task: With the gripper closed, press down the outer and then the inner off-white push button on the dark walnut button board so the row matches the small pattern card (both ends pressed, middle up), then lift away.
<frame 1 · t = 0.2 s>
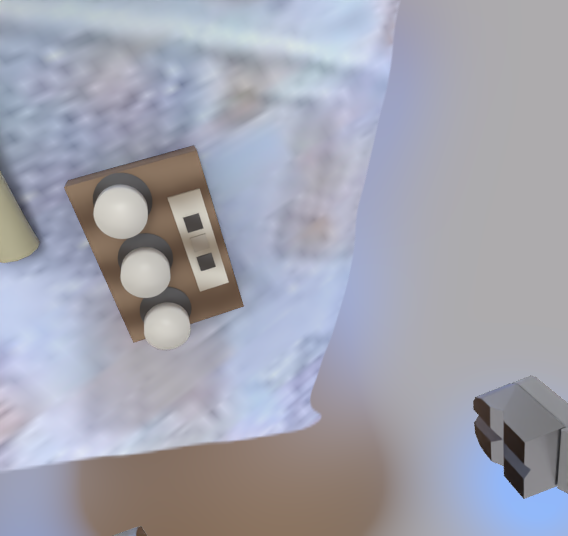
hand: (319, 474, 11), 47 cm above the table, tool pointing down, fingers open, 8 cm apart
inner button: (121, 211, 47), point 7 cm above the table, slide at 0.0 cm
middle button: (145, 272, 51), point 7 cm above the table, slide at 0.0 cm
outer button: (167, 326, 54), point 7 cm above the table, slide at 0.0 cm
button board: (162, 243, 57), on the table
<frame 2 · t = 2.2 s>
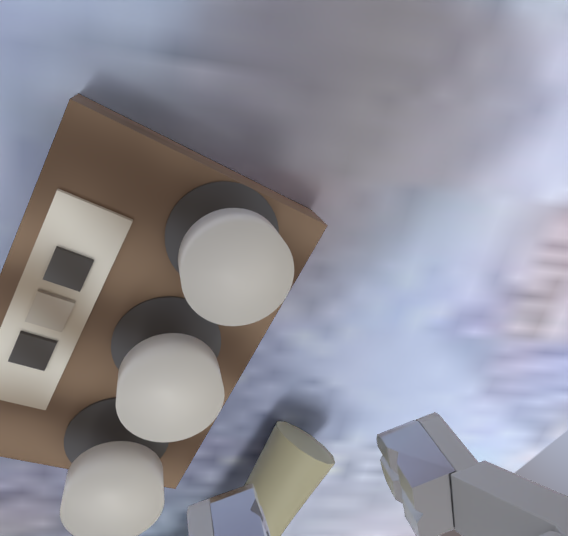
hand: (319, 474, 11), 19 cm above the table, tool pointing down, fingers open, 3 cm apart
inner button: (114, 491, 25), point 7 cm above the table, slide at 0.0 cm
middle button: (170, 387, 23), point 7 cm above the table, slide at 0.0 cm
outer button: (235, 267, 22), point 7 cm above the table, slide at 0.0 cm
button board: (134, 307, 29), on the table
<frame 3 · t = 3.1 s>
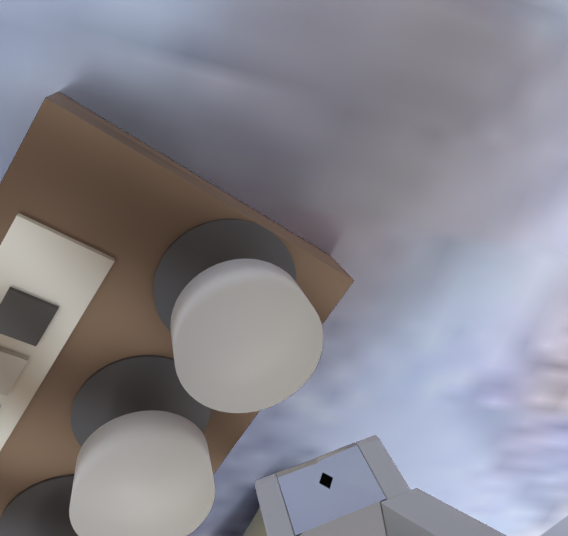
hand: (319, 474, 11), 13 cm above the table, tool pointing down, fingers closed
middle button: (144, 481, 18), point 7 cm above the table, slide at 0.0 cm
outer button: (245, 335, 17), point 7 cm above the table, slide at 0.0 cm
button board: (105, 358, 23), on the table
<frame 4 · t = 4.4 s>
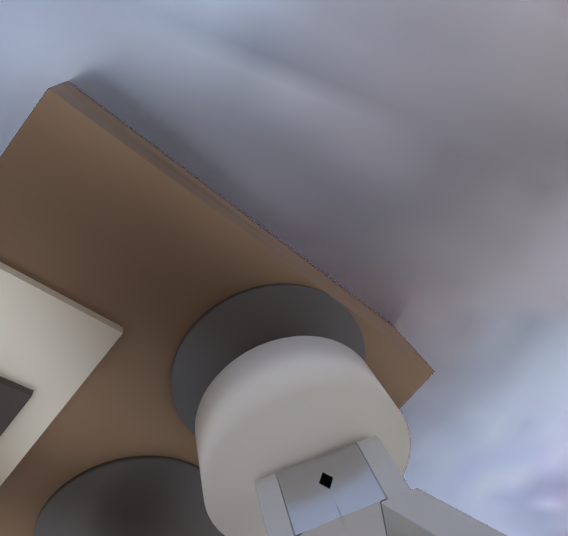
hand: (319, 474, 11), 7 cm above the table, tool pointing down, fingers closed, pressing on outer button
outer button: (299, 443, 12), point 6 cm above the table, slide at 1.0 cm, touching gripper
button board: (89, 439, 17), on the table
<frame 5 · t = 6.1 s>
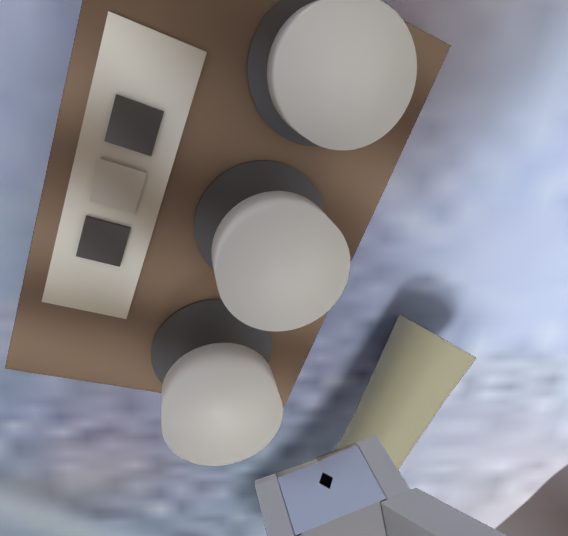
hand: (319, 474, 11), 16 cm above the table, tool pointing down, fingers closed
inner button: (221, 404, 21), point 7 cm above the table, slide at 0.0 cm
middle button: (279, 261, 18), point 7 cm above the table, slide at 0.0 cm
outer button: (340, 75, 17), point 6 cm above the table, slide at 1.5 cm
flower vase: (264, 495, 34), on the table
button board: (212, 194, 24), on the table
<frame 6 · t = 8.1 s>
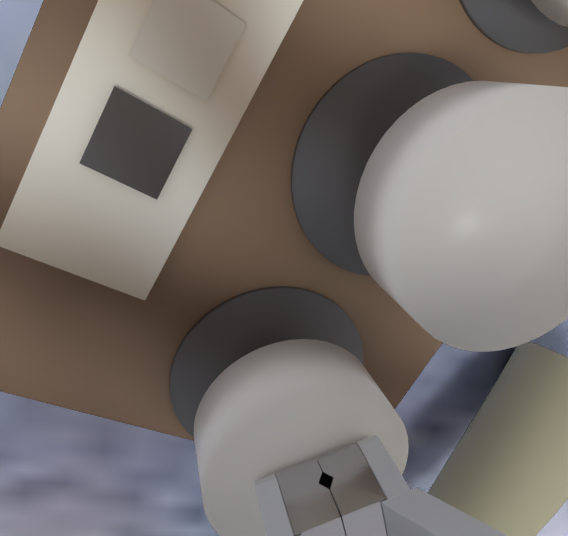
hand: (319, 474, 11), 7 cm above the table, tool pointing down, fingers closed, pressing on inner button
inner button: (298, 446, 12), point 6 cm above the table, slide at 1.0 cm, touching gripper
middle button: (490, 217, 10), point 7 cm above the table, slide at 0.0 cm
button board: (304, 122, 15), on the table
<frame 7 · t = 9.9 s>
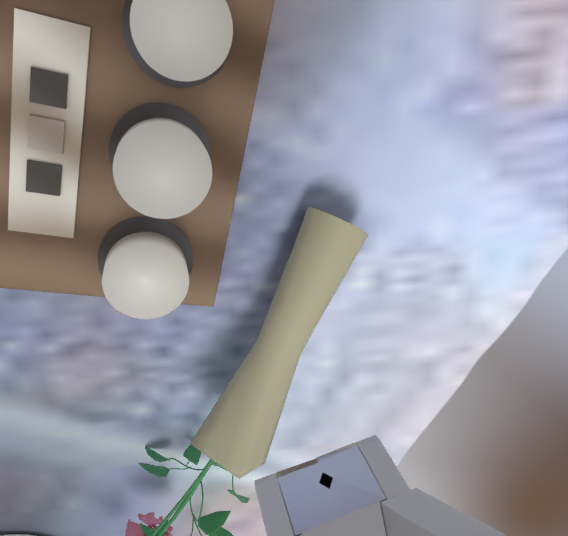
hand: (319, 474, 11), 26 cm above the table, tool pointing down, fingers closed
inner button: (146, 275, 29), point 6 cm above the table, slide at 1.5 cm
middle button: (163, 168, 26), point 7 cm above the table, slide at 0.0 cm
outer button: (181, 28, 25), point 6 cm above the table, slide at 1.5 cm
flower vase: (219, 380, 41), on the table
button board: (128, 140, 31), on the table
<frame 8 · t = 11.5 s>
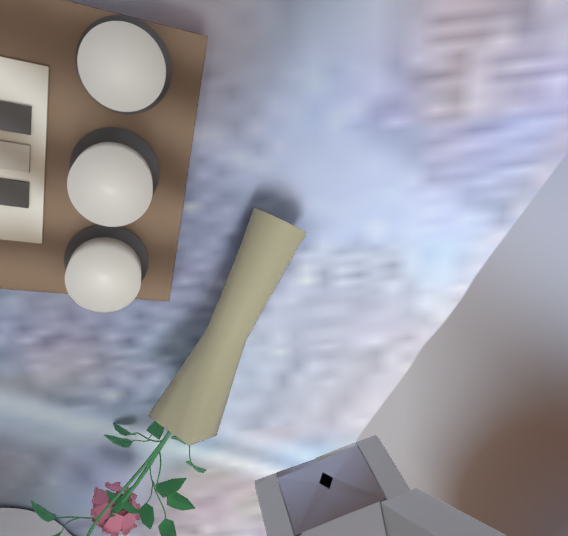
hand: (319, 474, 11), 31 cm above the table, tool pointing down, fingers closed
inner button: (104, 274, 34), point 6 cm above the table, slide at 1.5 cm
middle button: (111, 184, 30), point 7 cm above the table, slide at 0.0 cm
outer button: (123, 67, 29), point 6 cm above the table, slide at 1.5 cm
flower vase: (180, 363, 46), on the table
button board: (89, 157, 36), on the table
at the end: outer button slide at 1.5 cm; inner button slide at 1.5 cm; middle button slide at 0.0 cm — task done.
